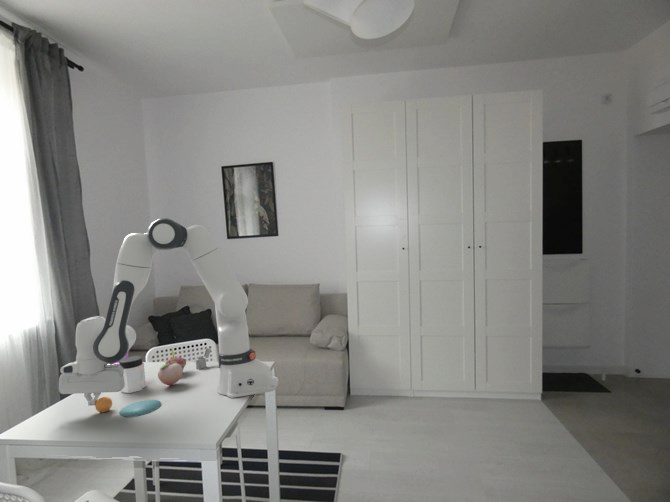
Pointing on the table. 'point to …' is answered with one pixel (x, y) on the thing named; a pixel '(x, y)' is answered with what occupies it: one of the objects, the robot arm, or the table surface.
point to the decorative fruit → (170, 373)
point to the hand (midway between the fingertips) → (93, 404)
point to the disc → (140, 408)
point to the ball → (103, 404)
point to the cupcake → (177, 360)
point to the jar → (133, 374)
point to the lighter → (202, 359)
